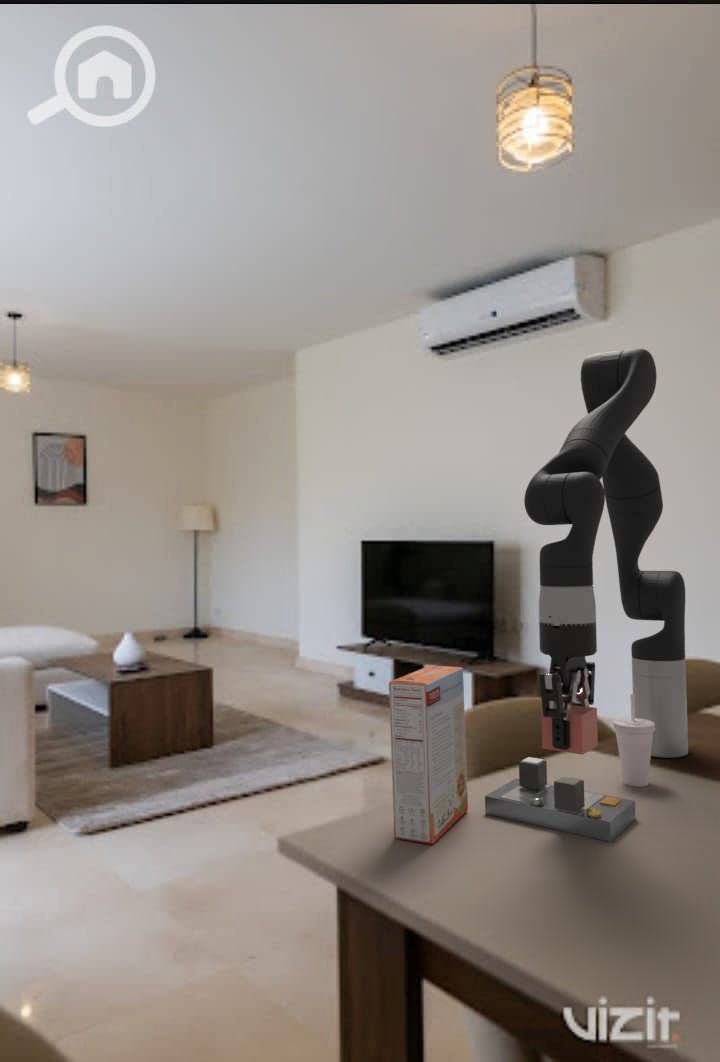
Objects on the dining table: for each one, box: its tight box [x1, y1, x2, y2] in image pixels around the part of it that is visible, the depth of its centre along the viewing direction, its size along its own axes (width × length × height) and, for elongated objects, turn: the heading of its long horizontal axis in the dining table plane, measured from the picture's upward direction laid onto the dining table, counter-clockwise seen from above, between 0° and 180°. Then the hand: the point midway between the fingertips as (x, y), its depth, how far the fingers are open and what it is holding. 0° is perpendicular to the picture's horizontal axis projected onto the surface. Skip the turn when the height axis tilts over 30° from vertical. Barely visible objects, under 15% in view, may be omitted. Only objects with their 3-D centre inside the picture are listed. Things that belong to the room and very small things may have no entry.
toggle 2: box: [553, 775, 585, 813], centre depth 100 cm, size 3×3×4 cm
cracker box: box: [388, 665, 469, 845], centre depth 103 cm, size 14×6×21 cm, turn 152°
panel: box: [484, 778, 637, 843], centre depth 105 cm, size 10×18×3 cm, turn 52°
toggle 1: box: [518, 756, 548, 790], centre depth 110 cm, size 3×3×4 cm
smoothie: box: [612, 693, 655, 788], centre depth 119 cm, size 6×6×14 cm
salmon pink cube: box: [541, 703, 599, 756], centre depth 101 cm, size 6×6×5 cm
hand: (570, 743), depth 101 cm, fingers closed on salmon pink cube, 5 cm apart
